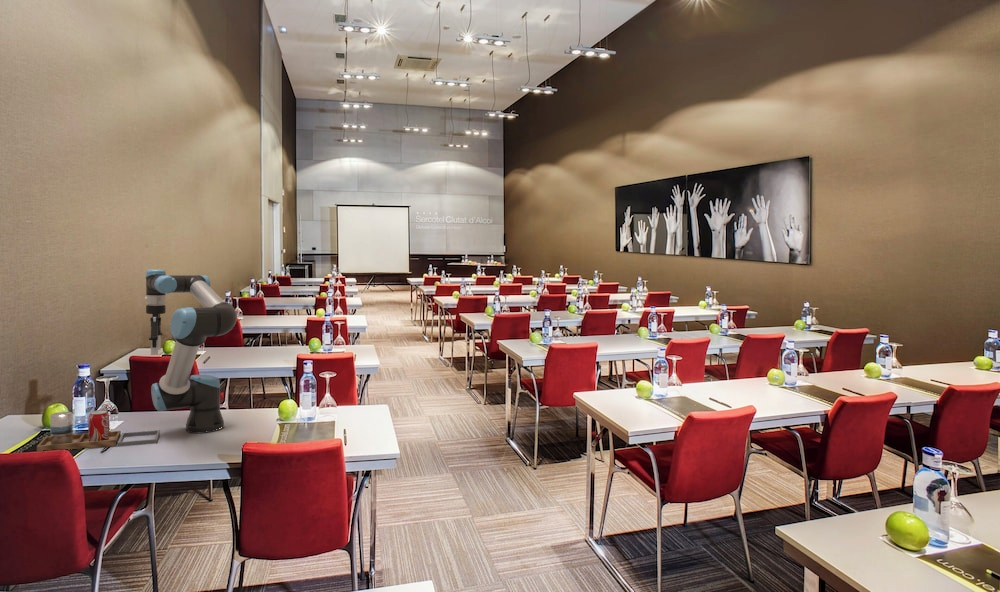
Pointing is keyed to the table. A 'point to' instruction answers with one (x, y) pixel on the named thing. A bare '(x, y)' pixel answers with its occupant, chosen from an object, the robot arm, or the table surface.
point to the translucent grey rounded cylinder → (61, 428)
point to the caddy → (80, 442)
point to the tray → (138, 440)
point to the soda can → (98, 426)
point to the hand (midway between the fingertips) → (155, 352)
